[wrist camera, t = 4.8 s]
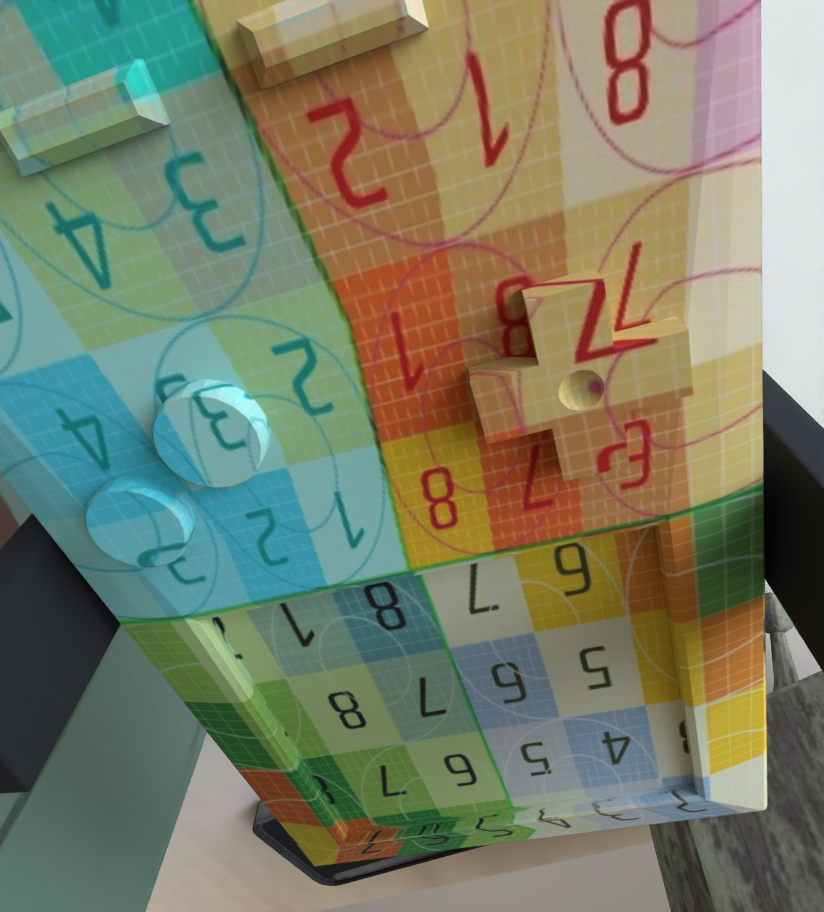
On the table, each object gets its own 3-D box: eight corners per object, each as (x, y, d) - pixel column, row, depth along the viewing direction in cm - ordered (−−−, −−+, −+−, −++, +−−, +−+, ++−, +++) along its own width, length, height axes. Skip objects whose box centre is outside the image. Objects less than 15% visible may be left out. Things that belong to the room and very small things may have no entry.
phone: (558, 825, 34) (324, 889, 38) (555, 804, 34) (327, 869, 39) (491, 744, 30) (242, 825, 34) (489, 723, 31) (247, 804, 35)
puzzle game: (810, -644, 4) (785, 849, 14) (627, -308, 8) (709, 676, 18) (-451, -5, 6) (306, 903, 17) (-110, 16, 10) (330, 738, 20)
